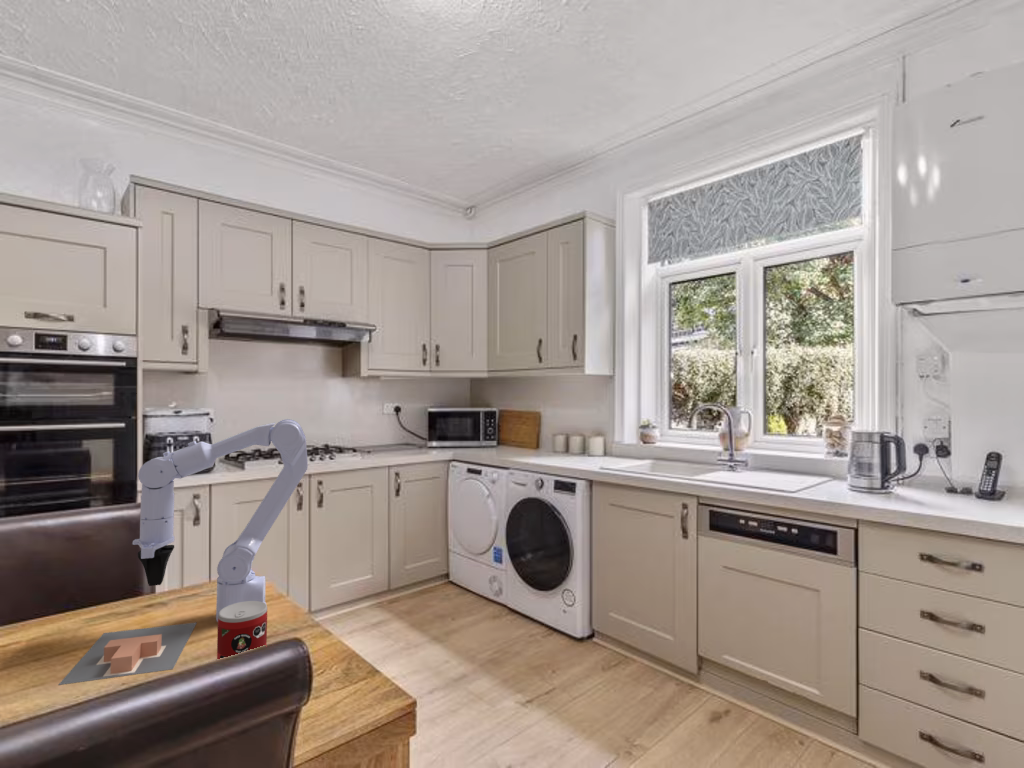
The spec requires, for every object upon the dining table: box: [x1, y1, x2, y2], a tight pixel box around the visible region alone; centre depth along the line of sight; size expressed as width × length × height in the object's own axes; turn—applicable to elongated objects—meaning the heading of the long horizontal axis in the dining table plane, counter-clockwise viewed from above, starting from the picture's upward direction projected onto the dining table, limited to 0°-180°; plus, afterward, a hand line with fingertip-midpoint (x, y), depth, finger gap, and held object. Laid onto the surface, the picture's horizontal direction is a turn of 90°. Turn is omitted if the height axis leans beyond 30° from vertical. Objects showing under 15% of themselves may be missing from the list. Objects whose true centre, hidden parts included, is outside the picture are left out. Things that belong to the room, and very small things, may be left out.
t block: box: [104, 634, 162, 674], centre depth 95 cm, size 8×8×2 cm
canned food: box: [216, 601, 268, 660], centre depth 93 cm, size 8×8×11 cm
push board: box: [58, 621, 197, 686], centre depth 99 cm, size 16×20×1 cm
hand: (155, 584), depth 109 cm, fingers closed
